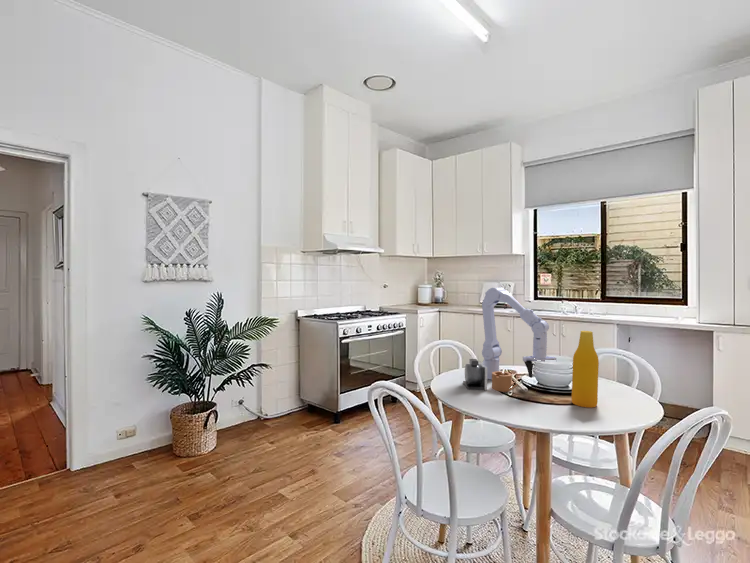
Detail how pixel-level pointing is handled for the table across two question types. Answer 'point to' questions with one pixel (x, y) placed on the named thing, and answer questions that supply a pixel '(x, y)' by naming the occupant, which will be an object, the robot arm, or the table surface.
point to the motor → (475, 375)
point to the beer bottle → (585, 372)
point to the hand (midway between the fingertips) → (538, 377)
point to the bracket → (502, 381)
